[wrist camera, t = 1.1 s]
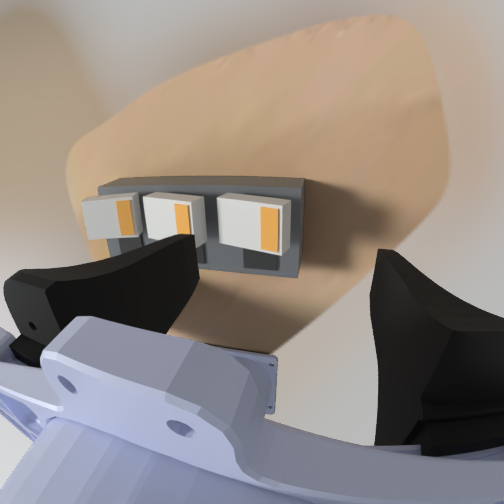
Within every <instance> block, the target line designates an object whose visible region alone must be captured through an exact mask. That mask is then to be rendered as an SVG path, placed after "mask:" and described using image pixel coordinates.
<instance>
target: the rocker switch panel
mask: <svg viewBox="0 0 504 504" xmlns="http://www.w3.org/2000/svg"><path fill="white" fill-rule="evenodd" d="M133 192H138V196H139V204H140V211H141V218H142V225H143V232H142V233H141V234H140V235H139V237H129V238H109V239H107V243H108V248H109V253H110V257H114V256H117V255H120V254H123V253H126V252H129V251H132V250H134V249H137V248H140V247H143V246H145V245H148V244H150V243H153V242H156V241H158V240H156V239H152V238H148V232H147V225H146V218H145V211H144V203H143V196H146V195H148V194H151V193H154V192H163V193H173V194H184V195H193V196H203V197H204V204H205V217H206V230H207V242H205V243H204V244H202V245H201V246H199V247H197V248H196V252H197V261H198V269H208V270H217V271H227V272H237V273H247V274H257V275H268V276H278V277H289V278H298V274H299V269H300V264H301V260H302V244H303V222H304V194H305V178H285V177H258V176H161V177H135V178H119V179H117V180H114V181H112V182H109V183H107V184H104V185H102V186H100V187H98V193H99V196H103V195H112V194H122V193H133ZM226 193H236V194H245V195H254V196H263V197H271V198H279V199H287V200H291V229H290V248H289V249H288V250H287V251H286V252H285V253H284V254H283V255H282V256H280V255H275V254H270V253H265V252H260V251H256V250H251V249H246V248H241V247H236V246H231V245H227V244H222V243H220V242H219V227H218V211H217V197H219V196H221V195H224V194H226Z"/></svg>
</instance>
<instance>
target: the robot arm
mask: <svg viewBox="0 0 504 504" xmlns="http://www.w3.org/2000/svg"><path fill="white" fill-rule="evenodd" d="M199 279H200V277H199V269H198V261H197V252H196V244H195V235H194V234H177V235H173V236H170V237H167V238H164V239H161V240H158V241H156V242H153V243H150V244H148V245H145V246H143V247H140V248H137V249H134V250H132V251H129V252H126V253H123V254H120V255H117V256H114V257H111V258H107V259H103V260H100V261H96V262H91V263H86V264H81V265H76V266H69V267H61V268H50V269H23V270H19V271H18V272H17V273H15V274H14V275H13V276H11V277H10V278H9V279H7V280H6V281H5V283H4V297H5V301H6V303H7V306H8V308H9V311H10V313H11V315H12V317H13V319H14V321H15V323H16V325H17V327H18V329H19V331H20V333H21V335H20V336H19V337H18V338H17V339H16V338H15V337H14V336H13V335H12V334H11V333H10V332H8V331H6V330H4V329H3V328H1V327H0V414H1V415H3V416H4V417H5V418H6V419H7V420H8V421H9V422H11V423H12V424H13V425H14V426H15V427H16V428H18V429H19V430H20V431H21V432H22V433H23V434H24V435H26V436H27V437H28V438H29V439H31V440H32V441H33V442H34V443H33V444H32V446H31V447H30V448H29V450H28V451H27V452H26V454H25V455H24V456H23V458H22V459H21V461H20V462H19V464H18V465H17V466H16V468H15V469H14V471H13V472H12V474H11V475H10V476H9V478H8V479H7V481H6V482H5V484H4V485H3V487H2V489H1V490H0V504H504V318H502V317H499V316H497V315H494V314H491V313H489V312H486V311H484V310H482V309H479V308H477V307H475V306H473V305H471V304H469V303H467V302H465V301H463V300H461V299H459V298H458V297H456V296H454V295H453V294H451V293H449V292H448V291H446V290H445V289H443V288H442V287H440V286H439V285H437V284H436V283H434V282H433V281H432V280H431V279H429V278H428V277H427V276H425V275H424V274H423V273H422V272H420V271H419V270H418V269H417V268H415V267H414V266H413V265H412V264H411V263H410V262H408V261H407V260H406V259H405V258H404V257H402V256H401V255H400V254H399V253H397V252H396V251H394V250H387V249H378V252H377V258H376V264H375V270H374V275H373V281H372V286H371V291H370V316H371V322H372V329H373V335H374V340H375V347H376V354H377V361H378V411H377V424H376V435H375V443H374V446H362V445H358V444H353V443H349V442H344V441H340V440H336V439H332V438H328V437H325V436H321V435H317V434H313V433H310V432H306V431H303V430H300V429H296V428H293V427H290V426H286V425H284V424H280V423H277V422H274V421H271V420H269V419H265V418H264V416H265V414H274V413H275V401H276V383H277V365H278V363H277V362H278V359H277V357H276V356H274V355H268V354H261V353H254V352H247V351H240V350H234V349H228V348H222V347H216V346H210V345H207V344H205V343H202V342H200V341H196V340H190V339H185V338H180V337H176V336H171V335H166V333H167V332H168V330H169V329H170V327H171V326H172V324H173V323H174V322H175V320H176V319H177V317H178V316H179V314H180V313H181V311H182V310H183V308H184V307H185V305H186V304H187V302H188V301H189V299H190V298H191V296H192V294H193V292H194V290H195V288H196V285H197V283H198V281H199ZM271 363H273V364H271Z"/></svg>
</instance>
